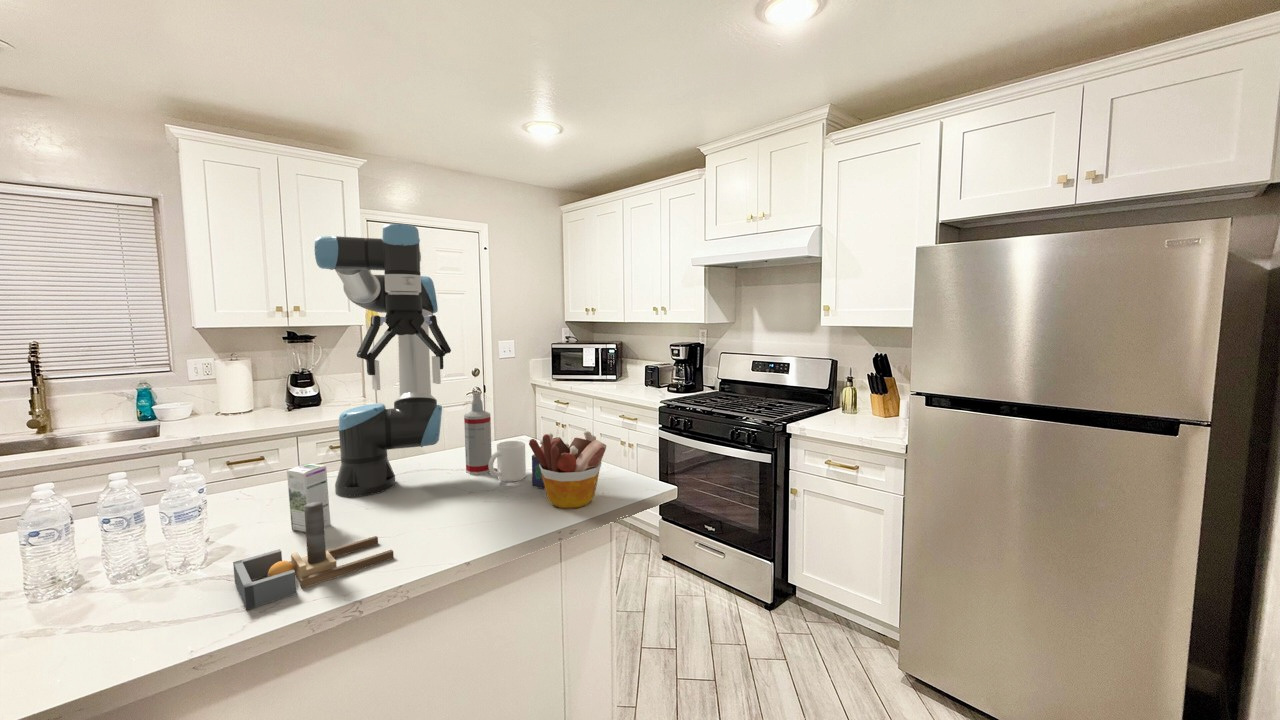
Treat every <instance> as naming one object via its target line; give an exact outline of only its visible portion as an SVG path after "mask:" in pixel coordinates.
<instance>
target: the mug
mask: <svg viewBox="0 0 1280 720" xmlns="http://www.w3.org/2000/svg"><path fill="white" fill-rule="evenodd" d="M495 460H496V464H497V465H496V467H497V468H496V469H497V471H495V469H494V463H495ZM526 461H527V460H526V443H525V441H521V440H507V441H502V442H499V443H497V444H496V452H494V453H493V454H492V456H491V458H490V460H489V471H490V472H489V473H490V474H491V475H492V476H493V477H497V479H498V480H499V481H502V482H505V483H506V482H507V483H508V482H510V483H511V482H518V481H521V480H523V479H524V478H525V477H526V475H527V471H526V469H527V464H526V463H527V462H526Z"/></svg>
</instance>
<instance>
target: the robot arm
mask: <svg viewBox="0 0 1280 720" xmlns="http://www.w3.org/2000/svg"><path fill="white" fill-rule="evenodd" d="M419 233H420V232H419V229H418V227H416V226H415V225H412V224H406V223H405V224H404V223H388V224H387V223H386V224H385V225H383V227H382V237H381V238H374V237H373V238H372V237H355V236H353V237H352V236H337V235H327V236H326V235H325V236H322V235H321V236H318V237H316V238H315V241H314V258H315V263H316V265H317V266H318V267H319V268H320V269H323V270H324V269H325V270H330V271H332V270H334V271H335V272H336V274H337V275H338V277H339V279H340V280H341V282H342V284H343V291H344V294H345V295H346V297H347V299H349V300H350V301H351V302H352V303H353V304H355V305H356V306H358V307H361V308H362V309H365V310H368V311H371V312H376V313H381V314H382V313H384V314H385V313H386V314H385V316H380V315H371V317H370V325H369V328H368V329H367V332H366V334H365V336H364V338H363V340H362V342H361V344H360V346H359V348H358V350H357V353H356V357H357V358H358V359H363V360H365V362H366V374H367V375H368V376H371V380H372V381H371V382H372V383H371V384H372V385H371V386H372V390H374V391H381V375H380V374H381V373H380V372H381V371H380V360H377V358H378V356H379V355H380V354H381V352H382V351H383V350H384V348H385V347H386V346H388V344H389V343H390V341H391V340H392V339H393V338H394V337H396V336H398V342H397V343H398V377H399V378H398V379H399V381H398V384H399V388H398V389H399V396H398V398H396V399H395V400H394V402H393V408H387V407H386V405H385V404H384V403H373V404H365V405H360V406H355V407H352V408H349V409H346V410H344V411H343V412H341V413H340V415H339V416H338V429H337V430H338V431H339V432H338V433H339V434H338V435H339V449H340V450H339V451H340V466H339V470H338V473H337V476H336V480H335V483H334V488H335V489H334V490H335V491H334V493H335V494H336V495H338V496H342V497H353V498H354V497H363V496H370V495H375V494H379V493H382V492H385V491H388V490H390V489H392V488H393V487H395V485H396V475H395V471H394V470H393V467H392V466H391V463H390V460H389V458H388V450H399V449H408V448H424V447H428V446H434V445H436V444H438V442H439V441H440V436H441V435H440V434H441V426H442V425H441V424H442V413H443V406H442V405H441V404H438V402H437V399H436V397H434V396H433V395H432V388H431V387H432V386H431V385H432V384H436V385H441V383H442V382H441V370H444V357H445V356H446V355H447V354H450V353H451V352H452V349H451V347H450V345H449V344H448V341H447V340H446V338H445V336H444V334H443V332H442V331H441V329H440V326H439V325H438V319H437V316H436V315H435V314H436V313H438V311H439V309H438V301H437V295H436V288H435V285H434V281H433V279H432V278H431V277H430V276H426V275H425V276H424V275H421V274H422V273H421V261H422V259H421V258H422V255H421V247H420V244H421V243H420V241H421V239H420V234H419ZM372 271H384V274H373V273H372ZM384 323H385V324H386V326H387V329H386V330H385V331H384V333H383V335H382V336H381V337H380V338H379V339H378V341H377V342H376V343H375V344H374V345H373V343H374V340H375V338H376V336H377V334H378V332H379V330H380V327H382V326H383V325H384ZM429 329H430V331H429ZM429 332H431V334H432V335H433V337H434V340H435V341H436V342H437V343H435V341H434V340H433V339H432V338H431V337H430V335H429V334H430V333H429ZM372 345H373V347H372ZM371 347H372V348H371ZM430 351H431V352H432V353H433V354H434V356H433V355H432V356H431V360H430ZM430 361H431V362H430ZM430 363H431V364H430ZM431 371H432V373H431ZM431 374H432V375H431ZM431 376H432V381H431ZM431 382H432V384H431Z"/></svg>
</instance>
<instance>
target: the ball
mask: <svg viewBox="0 0 1280 720" xmlns="http://www.w3.org/2000/svg"><path fill="white" fill-rule="evenodd" d="M291 570H294V566H293V565H292V563H290V562H289V561H287V560H282V561H279V562H277V563H275V564H274V565H273V566H272V567H271V568H270V569H269V571H268V576H267V578H268V577H271V576H274V575H277V574H281V573H284V572H287V571H291Z"/></svg>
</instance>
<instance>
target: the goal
mask: <svg viewBox="0 0 1280 720" xmlns="http://www.w3.org/2000/svg"><path fill="white" fill-rule="evenodd" d="M279 561H283V555H282V550H281V548H279V549H276V550H272V551H268V552H264V553H261V554H257V555H254V556H250V557H247V558H244V559H240V560H235V561H233V562H232V563H233V576H234V584H235V586H236V589H237V591H238V593H239V596H240V598H241V601H242V603H243V605H244V608H245V611H248V610H251V609H254V608H257V607H259V606H264V605H266V604H269V603H272V602H274V601H277V600H281V599H283V598H287V597H289V596H290V597H291V596H293V595H295V594H297V580H296V578H297V577H296V575H295V571H294V570H291V571H287V572H284V573H281V574H277V575H274V576H271V577H268V571H269V569H270V568H271V567H272V566H273V565H274V564H275V563H277V562H279ZM263 577H265V578H263ZM261 578H262V579H261ZM257 579H258V580H257ZM254 580H255V581H254Z"/></svg>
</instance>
